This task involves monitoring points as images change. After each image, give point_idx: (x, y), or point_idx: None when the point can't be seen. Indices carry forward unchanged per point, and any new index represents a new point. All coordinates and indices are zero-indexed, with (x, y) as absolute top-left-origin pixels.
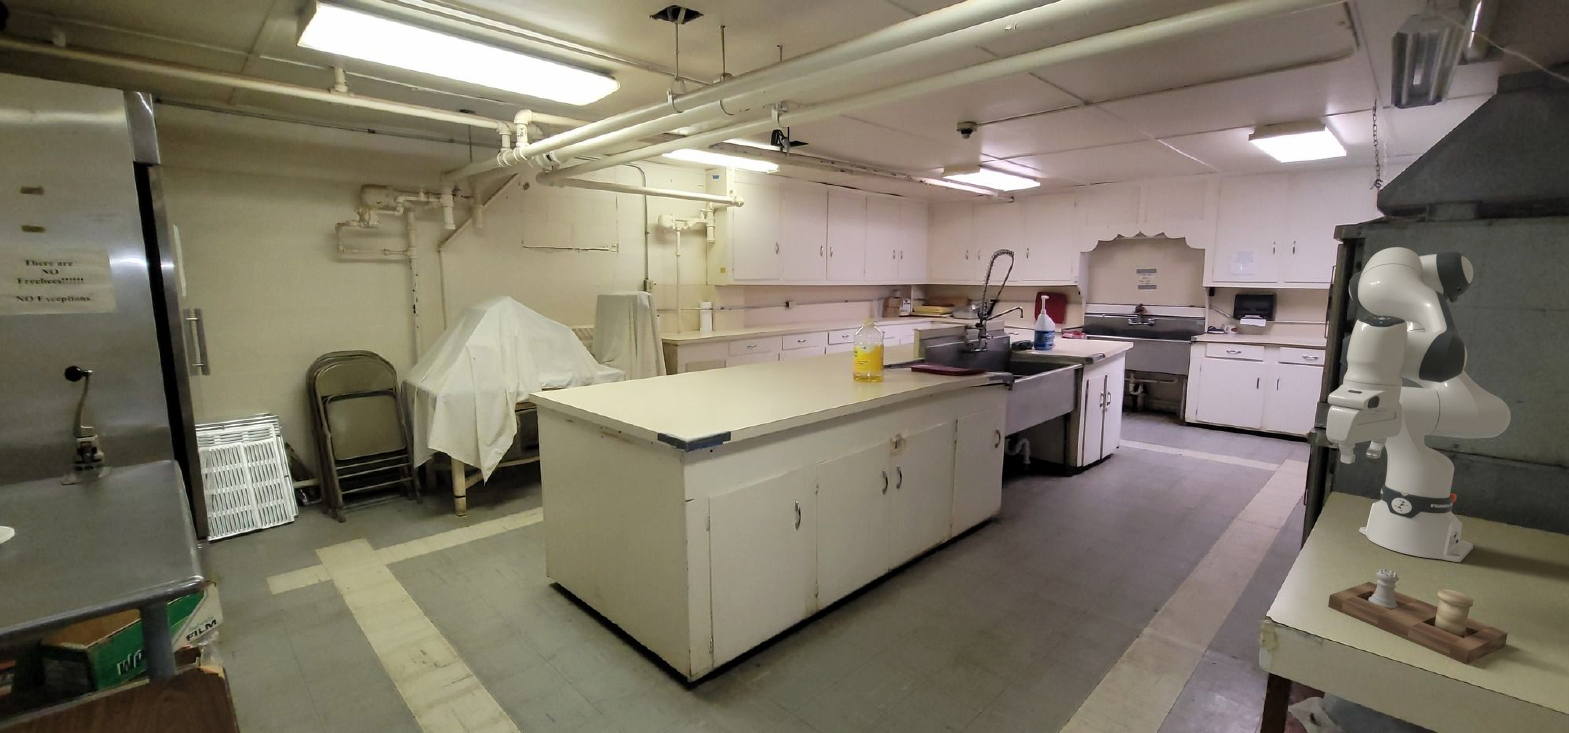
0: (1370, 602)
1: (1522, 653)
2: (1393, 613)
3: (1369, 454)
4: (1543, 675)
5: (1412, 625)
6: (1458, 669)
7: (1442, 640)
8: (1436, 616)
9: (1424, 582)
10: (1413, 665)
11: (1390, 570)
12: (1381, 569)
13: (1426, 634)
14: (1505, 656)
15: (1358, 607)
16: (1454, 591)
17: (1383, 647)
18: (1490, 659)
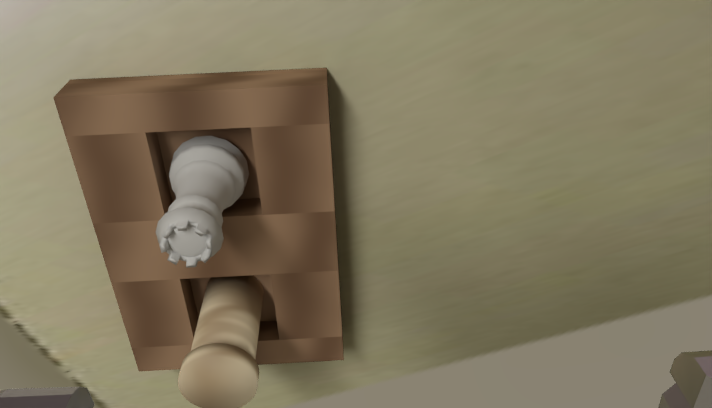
0: (150, 174)
1: None
2: (149, 232)
3: (695, 406)
4: (268, 398)
5: (129, 281)
6: (105, 348)
7: (128, 335)
8: (208, 306)
9: (627, 89)
10: (10, 316)
11: (208, 243)
12: (181, 229)
13: (120, 310)
14: None
15: (78, 175)
16: (244, 373)
17: (13, 258)
18: None
